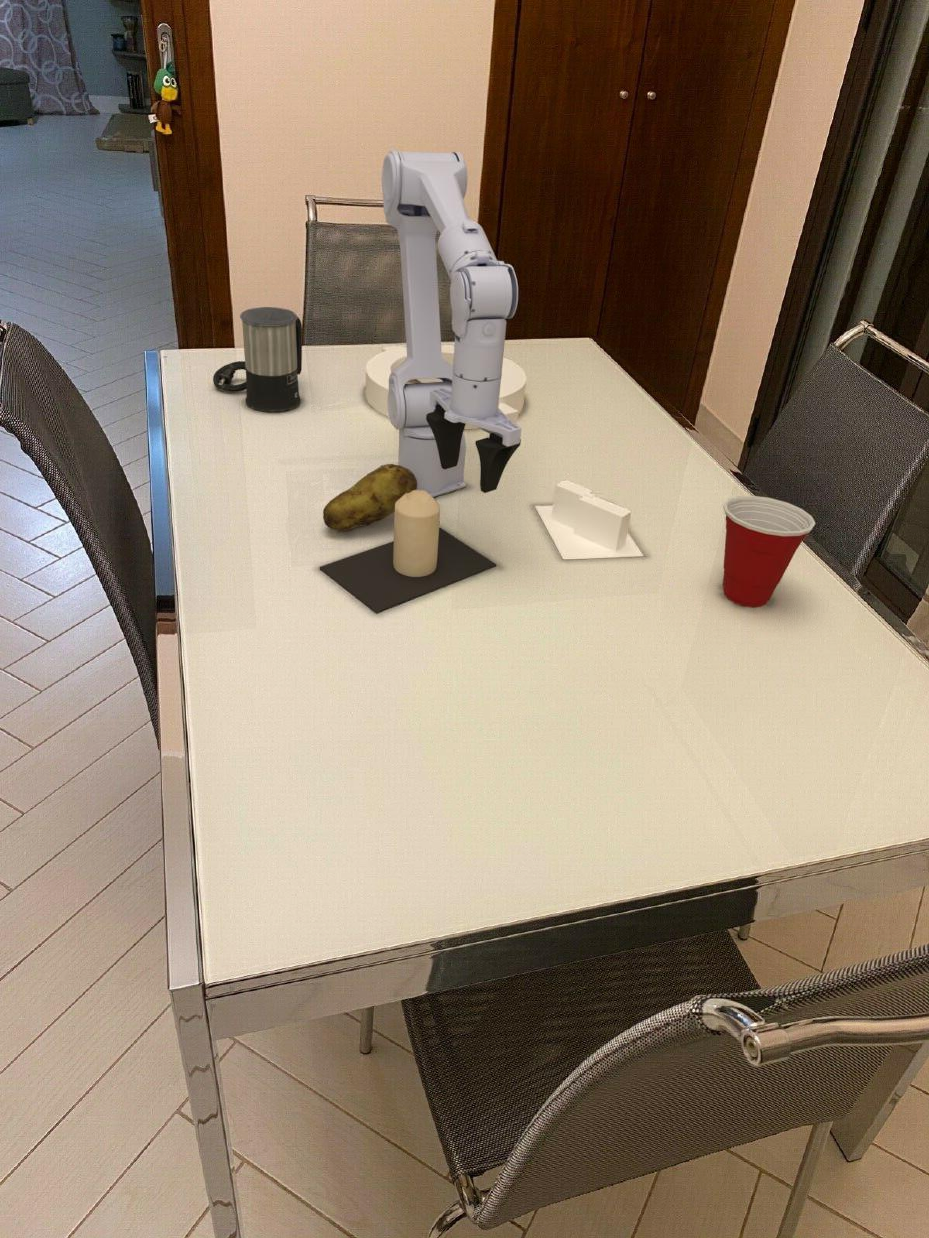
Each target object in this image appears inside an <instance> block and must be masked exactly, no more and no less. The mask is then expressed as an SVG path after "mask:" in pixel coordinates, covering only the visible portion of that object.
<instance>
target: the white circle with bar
mask: <svg viewBox="0 0 929 1238" xmlns="http://www.w3.org/2000/svg"><path fill="white" fill-rule="evenodd" d="M454 346H455V345H451V344H441V351H442V358H443V359H444V360H445V361H447V362H448V363H449V364H450V365H452V366H453V361H454ZM406 358H407V347H406V346H399V345H397V344H396V345H391V346H385V347H384V346H383V347H381V352H379V353H378V354H376V355H374V356H373V357H371V358H370V359H369V360H368V361H367V363H366V365H365V399H366V402H367V403H368V404H369V406H371V407H372V409H374V410H375V411H376V412H378V413H379V414H382V415H383V416H386V417H388V418H389V414H388V403H387V400H388V392H389V381H388V380H389V376H390V374H391V373H392V371H393V370H394V369H395V368H397V367H398V366H399V365H400V364H401V363H402V362H403V361H404V360H405V359H406ZM416 380H417V381H419V383H429V382H443V381H442V380H440V379H437V378H429V379H416ZM412 381H415V379H413V380H412ZM526 383H527V374H526V372H525V371H524V369H522V367H521V366H519V365H518V364H517V363H516V362H514V361H512V360H511V359H509V358H506V357H504V356H503V364H502V375H501V385H500V395H499V406H498V408H499V409H500V410H501V411H502V412H503V413H504V414H505V415H506V416H507V417H508V418H509V419H510V420H511V421H512V422H513V423H514V424H516V425H517V426H518V420H519V414H520V413H521V412H522V410H523V408H524V403H525V396H526V395H525V394H526ZM405 384H407V383H405ZM474 429H479V428H478V427H475V426H472V425H468V424H466V425H465V428H464V430H474Z"/></svg>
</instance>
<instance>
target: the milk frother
mask: <svg viewBox="0 0 929 1238" xmlns="http://www.w3.org/2000/svg"><path fill="white" fill-rule="evenodd" d="M239 318H240V320H241V321H242V324H241V325H242V337H243V352H244V360H239V361H234V362H230V363H228V364H227V363H226V364H224V365H223V366H222V367H220V368H218V369H217V370H216V371H215V372H214V374H213V376H212V382H213V385H214V386H215V388H217V389H219V390H221V391H224V392H228V393H238V392H243V391H246V397H245V399H244V400H245V404H246V405H247V406H248V407H249V408H251V409H253V410H257V411H261V412H265V413H266V412H268V413H275V412H276V413H279V412H285V411H286V412H287V411H290V410H291V411H292V410H293V409H296V408H297V407H298V406H299V405H301V402H302V401H301V396H300V390H299V389H300V387H299V375H301V373H302V370H303V369H302V367H303V365H302V364H303V323H302V321H301V319H300V317H299V316H298V315H297V313H296V312H295V311H292V310H291V309H287V308H282V307H275V306H274V307H273V306H262V307H261V306H260V307H251V308H248V309H246V310H244V311H242V312H241V313H240V314H239ZM240 370H241V371H242V370H244V371H245V381H244V382H242V383H238V384H232V382H233V381H232V380H233V379H234V375H235V374H236V371H240Z"/></svg>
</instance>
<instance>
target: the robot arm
mask: <svg viewBox="0 0 929 1238" xmlns="http://www.w3.org/2000/svg"><path fill="white" fill-rule="evenodd" d="M467 188H468V167H467V163H466V160H465V158H464V156H463V155H462V153H461V152H459V151H452V152H433V151H429V152H428V151H398V150H396V149H391V150H389V151H388V152H387V154H386V155H385V157H384V159H383V162H382V172H381V189H382V190H381V191H382V203H383V204H382V205H383V213H384V216H385V217H384V218H385V223H386V224H388V225H390V226H391V227H393V228H394V229H396V232H397V236H398V243H399V251H400V263H401V264H400V266H401V280H402V281H401V283H402V298H403V299H402V300H403V312H404V328H405V329H404V331H405V345H406V347H407V358H406V359H405V360H404V361H403V362H402V363H401V364H400V365H399V366H398V367H397V368H395V369H394V370H393V371H392V373H391V374H390V376H389V380H388V381H389V392H388V400H387V403H388V414H389V417H388V419H389V421H390V424H391V425H392V426H393V428H394V429H395V430H397V431H398V454H397V455H398V456H397V457H398V459H397V465H400V466H402V467H404V468H407V469H409V470H410V471H411V472H412V473H413V474H414V476H415V477H416V480H417V490H421V491H426V492H428V494H429V495H431V496H432V497H433V498H435V497H438V496H440V495H444V494H447V493H450V492H453V491H456V490H460V489H462V488H466V487H467V486H468V483H467V482H466V481H465V480H464V479H465V466H466V465H465V463H466V454H467V453H466V452H467V442H466V437H465V434H464V431H465V429H464V428H465V425H466V424H468V425H472V426H475V427H478V428H477V429H480V430H482V431H483V432H485V433H487V434H489V435H488V436H487V437H485V438H481V439H477V440H475V447H476V449H477V453H478V459H479V466H480V467H479V468H480V470H479V471H480V474H479V487H480V491H481V493H484V494H488V493H490V492H494V491H496V490H497V489H498V486H499V483H500V481H501V478H502V477H503V473H504V471H505V469H506V467H507V465H508V464H509V463H508V462H509V461H510V459H511V458H512V457H513V455H514V453H515V452H516V451H517V450H518V448H519V447H520V446H521V442H522V439H521V436H522V427H521V426H519V425H518V424H517V425H516V424H514V423H513V422H512V421H511V420H510V419H509V418H508V417H507V416H506V415H505V414H504V413H503V412H502V411H501V410H500V409H499V408H498V406H499V395H500V385H501V375H502V364H503V357H504V352H505V342H506V332H507V320H506V319H508V320H511V319H512V318H513V317H514V316H515V314H516V311H517V307H518V302H519V285H518V279H517V276H516V275H517V274H516V272H515V269H514V267H513V266H512V264H509V263H505V261H504V260H498V259H497V257H496V255H495V252H494V251H493V248H492V246H491V243H490V241H489V239H488V236H487V234H486V232H485V231H484V228H483V227H482V226H481V225H480V224H479V223H478V222H476V221H474V220H472V219H470V217H469V214H468V211H467V206H466V204H465V200H464V199H465V196H466V194H467V190H468V189H467ZM438 232H439V234H440V235H439V237H438V241H437V244H436V235H437V233H438ZM437 250H438V254H439V257H440V258H441V261H442V264H443V265H444V269H445V270H446V273H447V275H448V278H449V280H450V286H449V299H450V300H449V301H450V307H451V308H450V309H451V330H452V331H453V333H454V345H453V346H454V361H453V366H452V365H450V364H449V363H448V362H447V361H445V360H444V359H443V358H442V351H441V345H442V338H441V336H442V335H441V317H440V302H439V301H440V299H439V296H440V295H439V280H438V263H437V261H438V260H437V259H438V258H437ZM429 378H437V379H440V380H442V381H443V382H429V383H422V382H414V383H413V382H411V383H408V382H410V381H414V380H417V379H429ZM413 379H414V380H413ZM405 383H406V384H405Z"/></svg>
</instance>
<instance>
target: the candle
mask: <svg viewBox="0 0 929 1238" xmlns="http://www.w3.org/2000/svg"><path fill="white" fill-rule="evenodd" d="M440 519H441V504H440V503H439V502H438V501H437V499H435V497H432V496H431V495H429V494H428V492H426V491H421V490H414V491H412V492H410V493H405V495H404V496H402V497H401V498H400V499H399V500H398V501H397V502H396V503H395V512H394V521H393V523H394V524H393V541H394V550H393V565H394V568H395V570H396V571H397V572H399V573H401V574H403V575H406V576H410V577H422V576H427V575H429V574H431V573H433V572H434V571H435V569H436V566H437V553H438V538H439V527H440Z"/></svg>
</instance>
